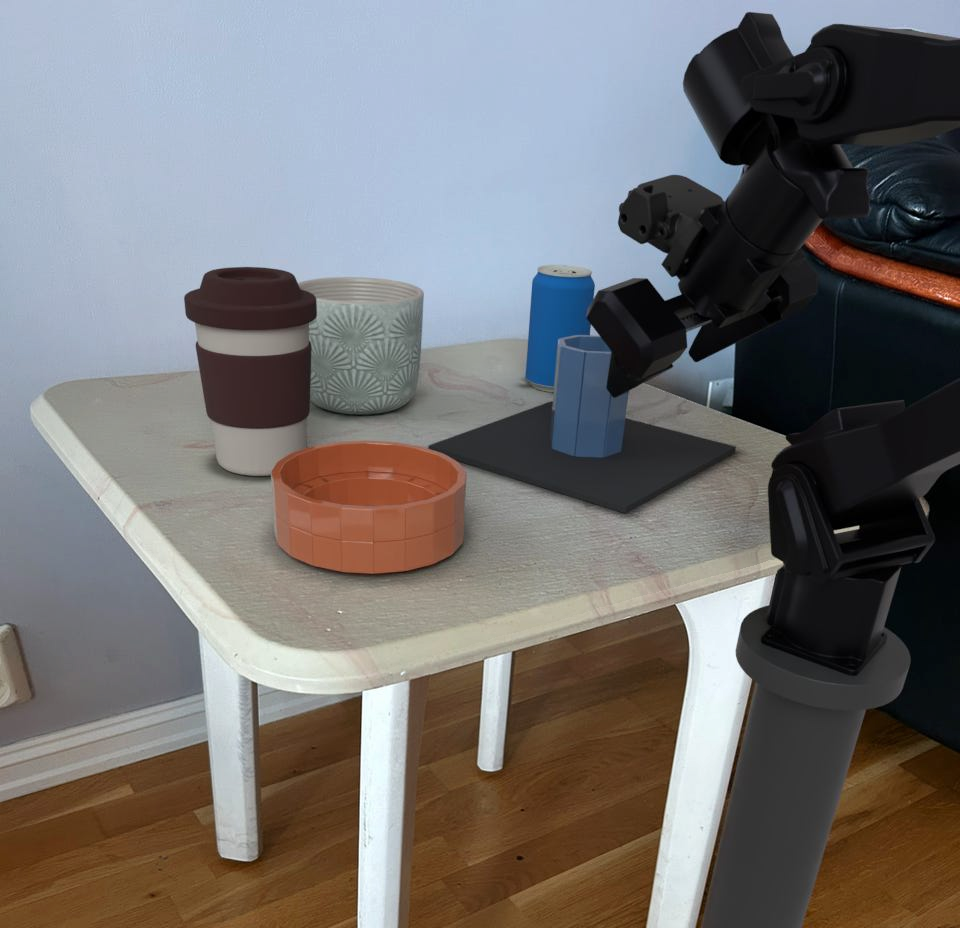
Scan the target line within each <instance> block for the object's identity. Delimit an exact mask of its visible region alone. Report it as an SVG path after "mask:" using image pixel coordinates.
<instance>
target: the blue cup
mask: <svg viewBox="0 0 960 928" xmlns="http://www.w3.org/2000/svg"><path fill="white" fill-rule="evenodd" d="M610 358H611V350H610V349H609V347H608V346H607V345H606V343H605V342H604V341H603V340H602V338H601V337H600V336H599V335H591V334H590V335H574V336H569V337H565V338H560V339H558V348H557V360H556V371H555V383H554V392H553V397H552V401H553V406H552V418H551V429H550V443H551V447H552V449H553V450H556V451H559V452H562V453H565V454H568V455H571V456H576V457H593V458H603V457H604V458H605V457H608V456H610V455H613V454H616V453H619V452H621V449H622V441H623V433H624V425H625V418H626V416H627V409H628V401H629V392H630V391H628V392H626V393H624V394H622V395H620V396H618V397H616V398H613V397H612V395H611V394H610V393H609V391H608V390H607V388H606V385H607V378H608V372H609V365H610Z"/></svg>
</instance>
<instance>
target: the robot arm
mask: <svg viewBox="0 0 960 928" xmlns="http://www.w3.org/2000/svg"><path fill="white" fill-rule="evenodd" d="M682 89H683V93H684V94H685V97H686V98H687V100H688V102H689V104H690V106H691V108H692V110H693V111H694V113H695V116H696V117H697V119H698V121H699V123H700V124H701V126H702V128H703V130H704V132H705V134H706V136H707V138H708V140H709V141H710V143H711V145H712V147H713V148H714V151H715V152H716V154H717V156H718V158H719V160H720V161H721V162H723V163H724V164H725V165H728V166H729V165H730V166H734V167H735V166H737V167H738V166H743V165H745V166H747V168H746V169H745V171H744V172H743V173H742V175H741V177H740V178H739V180H738V181H737V182H736V184H735V186H734V187H733V189H732V190H731V192H730V193H729V194H728V196H727V197H726V199H725V200H724V199H723V197H722V196H720V195H719V194H717V193H716V192H714V191H713V190H710V189H708V188H707V187H705V186H703V185H702V184H700V183H698V182H696V181H694V180H693V179H691V178H689V177H687V176H684V175H681V174H669V175H666V176H663V177H659V178H655V179H652V180H649V181H646V182H643V183H639V184H638V185H637V186H636V187H633V188H632V189H631V190H628V192H627V196H626V198H625V200H624V201H623V202H621V203H620V204H619V206H618V213H619V214H618V219H617V225H618V228H619V231H620V232H621V233H622V234H623V235H625V236H626V237H629V238H630V239H632V240H634V241H635V242H637V243H638V244H639V245H644V244H649V245H651V246H652V247H654V248H655V249H657V250H658V251H660V252H662V253H664V254H667V255H666V256H665V258H664V259H663V261H662V263H661V264H660V265H661V266H662V267H663V269H664V270H665V272H667V274H668V275H669V276H670V277H671V278H674V277H676V278H677V279H678V282H677V286H678V290H679V292H680V294H679V295H676V296H674V297H671V298H669V299H664V297H663V296H662V295H661V294H660V292H659V291H658V290H657V289H656V287H655V286H654V284H653V283H652V282H651V281H650V279H648V278H647V277H646V278H644V277H632V278H630V279H627V280H624V281H621V282H619V283H616V284H613V285H610V286H608V287H605V288H602V289H599V290H598V291H597V292H596V294H595V295H594V299H593V301H592V303H591V304H590V306H589V308H588V309H587V316H586V318H587V320H588V321H589V322H590V324H591V327H592V328H593V329H594V331H595V332H596V333H597V334H598V336H600V337H601V338H602V340H603V341H604V342H605V343H606V345H607V346H608V347H609V349H610V350H611V358H610V365H609V372H608V378H607V385H606V388H607V390H608V391H609V393H610V394H611V395H612V397H613V398H616V397H618V396H620V395H622V394H624V393H626V392H628V391H629V392H630V391H632V390H634V389H636V388H637V387H639V386H641V385H643V384H645V383H646V382H648V381H650V380H653V379H654V378H656V377H658V376H660V375H662V374H663V373H666V372H667V371H669V370H671V369H673V368H674V364H673V363H675V362H676V361H678V359H680V358H681V356H682V355H683V354H684V353H685V351H686V350H687V348H688V337H687V336H688V335H687V333H688V332H690V331H693V330H696V329H698V328H700V329H698V332H697V333H696V334H695V337H694V339H693V341H692V343H691V345H690V348H689V349H688V356H689V357H690V358H691V359H692V361H693V362H695V363H699V362H701V361H703V360H705V359H708V358H709V357H711V356H714V355H715V354H717V353H719V352H721V351H723V350H725V349H727V348H729V347H731V346H733V345H735V344H737V343H739V342H741V341H743V340H745V339H748V338H749V337H752V336H753V335H756V334H758V333H760V332H762V331H763V330H766V329H768V328H770V327H772V326H774V325H776V324H778V323H780V322H782V321H785V320H786V319H788V318H789V317H790V316H791V315H793V314H796V313H798V312H800V311H802V310H804V309H805V307H807V305H808V304H809V303H810V302H811V301H812V299H814V297H815V296H816V295H817V294H818V292H819V290H818V289H819V288H818V287H819V285H818V284H819V283H818V281H819V279H818V276H819V275H818V272H817V271H816V270H815V268H813V266H812V265H811V264H810V263H809V262H808V261H807V259H806V257H807V255H806V254H805V253H804V251H803V250H802V249H801V248H802V247H803V245H804V244H805V243H806V242H807V240H808V239H809V238H810V237H811V235H812V234H814V232H815V231H816V229H817V228H818V227H819V225H820V224H821V223H822V221H824V220H847V219H850V220H851V219H865V218H867V216H868V215H869V213H870V203H871V202H870V201H871V198H870V193H869V190H868V176H869V169H868V168H867V167H865V166H863V167H853V165H852V163H851V161H850V160H849V158H848V156H847V155H846V153H845V152H844V149H843V148H842V147H841V145H842V146H843V145H845V146H885V147H888V146H889V147H890V146H891V147H892V146H899V145H902V144H908V143H912V142H916V141H921V140H925V139H930V138H934V137H939V136H941V135H944V134H946V133H949V132H950V131H953V130H955V129H958V128H960V37H956V36H949V35H944V34H937V33H931V32H925V31H919V30H909V29H899V28H890V27H889V28H888V27H887V28H886V27H877V26H869V25H868V26H866V25H857V24H856V25H855V24H846V23H832V24H830V25H826V26H824V27H822V28H821V29H819V30H818V31H817V32H815V33H814V34H813V35H812V37H811V39H810V43H809V46H807V48H806V49H805V51H803V52H800V53H798V54H796V55H794V53H792V51H791V49H790V48H789V45H788V44H787V43H786V41H785V39H784V36H783V33H782V29H781V27H780V25H779V23H778V21H777V20H776V18H775V16H774V14H772V13H763V12H755V11H747V12H745V14H744V15H743V17H742V19H741V21H740V23H739V24H738V26H737V27H735V28H733V29H730V30H727V31H725V32H724V33H722V34H720V35H719V36H717V37H715V38H714V39H713V40H711V41H710V42H709V43H708V44H707V45H706V46H704V47H703V48H702V50H701V51H700V52H699V53H695V55H694V56H692V58H691V60H690V61H689V63H688V65H687V67H686V69H685V72H684V74H683V79H682ZM785 440H786V442H788V443H789V444H790V445H788V446H785V447H784V448H782V449H781V450H780V451H779V452H778V453H777V454H776V455H775V457H774V458H773V460H772V461H771V465H770V466H771V469H772V471H771V475H770V477H769V480H768V484H767V502H768V519H769V538H770V539H769V540H770V554H771V555H772V557H773V558H775V559H776V560H778V561H780V562H782V564H783V565H782V566H781V567H779V568H778V569H777V570H776V574H775V578H774V583H773V588H772V592H771V597H770V602H769V610H768V614H767V619H766V621H767V623H768V625H771V626H772V627H770V628H769V629H768V630H767V631H766V632H765V633H764V634H763V635H762V638H761V643H763V644H764V645H767V646H769V647H772V648H775V649H778V650H780V651H783V652H786V653H789V654H791V655H794V656H797V657H800V658H802V659H805V660H808V661H811V662H813V663H816V664H819V665H822V666H825V667H827V668H830V669H833V670H836V671H838V672H841V673H844V674H847V675H850V676H856V675H858V674H859V673H860V672H861V671H862V669H863V668H864V667H865V666H866V665H867V664H868V662H869V661H870V660H871V659H872V658H873V657H874V655H875V654H876V653H877V652H878V651H879V650H880V648H881V647H882V646H883V645H884V644H885V643H886V640H887V637H888V635H887V634H886V633H884V632H883V628H884V627H885V625H886V621H887V617H888V614H889V611H890V607H891V604H892V600H893V597H894V594H895V590H896V588H897V583H898V580H899V576H900V573H901V569H902V565H906V564H917V563H920V562H921V561H922V559H923V558H924V557H925V556H926V554H927V553H928V551H929V550H930V549H931V548H932V546H933V544H934V543H935V541H936V536H935V534H934V531H933V529H932V527H931V524H930V521H929V519H928V517H927V514H926V512H925V509H924V507H923V505H922V503H921V500H920V499H921V498H922V497H924V496H926V495H927V494H928V492H929V491H930V489H932V487H933V486H934V484H935V483H936V481H937V480H939V478H940V476H941V475H942V474H944V473H945V472H946V471H948V470H949V469H952V468H954V467H956V466H958V465H960V377H959V378H957V379H956V380H953V381H952V382H950V383H948V384H946V385H944V386H943V387H941V388H939V389H938V390H937V389H936V391H934V392H932V393H929V394H928V395H926V396H924V397H923V398H921V399H919V400H918V401H915V402H914V403H912V404H910V405H908V406H907V407H906V405H905V400H904V399H901V400H892V401H884V402H877V403H869V404H861V405H855V406H847V407H838V408H833V409H832V410H830V411H828V412H826V413H825V414H824V415H822V416H821V417H819V418H818V419H817V420H816V421H815V422H814V423H812V424H811V426H809V427H808V428H807V429H805V430H804V431H803V430H802V431H800V432H794V433H788V434H786V435H785ZM855 527H858V528H856V529H851V530H846V531H842V532H835V531H838V530H839V531H840V530H844V529H849V528H855Z"/></svg>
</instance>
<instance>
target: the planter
mask: <svg viewBox="0 0 960 928" xmlns="http://www.w3.org/2000/svg"><path fill="white" fill-rule="evenodd" d="M297 283H298V285H299V287H300V289H302V290H305V291H308V292H310V293H312V294H313V295H314V296H315V297H316V302H317V317H316V319H315V320H313V321H312V322H309V341H310V342H311V346H312V351H311V384H310V402H311V403H313V404H314V405H316V406H318V407H319V408H321V409H324V410H327V411H330V412H333V413H339V414H345V415H360V416H361V415H362V416H363V415H365V416H366V415H377V414H383V413H388V412H392V411H395V410H398V409H400V408H401V407H403V406H405V405H406V404H407V403H408V402H410V401H411V399H412V398H413V396H414V395H415V393H416V389H417V386H418V382H419V381H418V380H419V375H420V367H421V355H422V339H423V319H424V298H425V292H424V291H423V289H422V288H420V287H419V286H416V285H414V284H412V283H411V284H410V283H409V282H408V283H407V282H404V281H399V280H392V279H386V278H376V277H357V276H338V277H322V278H314V279H313V278H312V279H307V280H303V281H300V282H297Z"/></svg>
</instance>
